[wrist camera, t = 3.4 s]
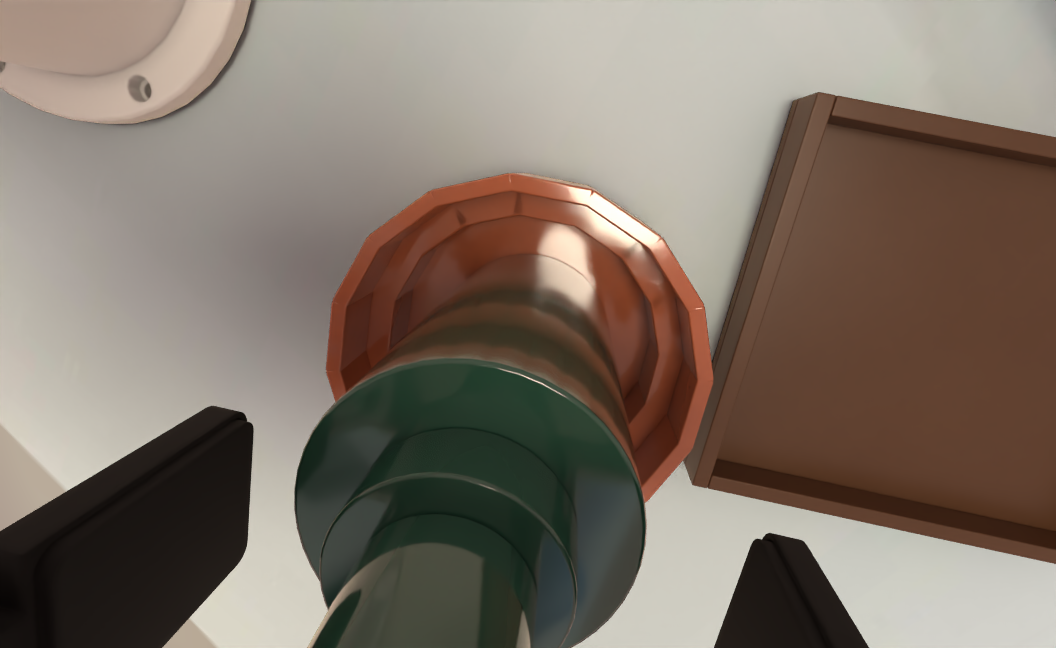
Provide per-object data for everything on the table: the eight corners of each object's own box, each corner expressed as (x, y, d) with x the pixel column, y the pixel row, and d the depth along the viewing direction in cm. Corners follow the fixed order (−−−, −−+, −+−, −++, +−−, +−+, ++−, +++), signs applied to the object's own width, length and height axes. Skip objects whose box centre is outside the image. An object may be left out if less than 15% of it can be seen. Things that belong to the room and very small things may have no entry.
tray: (682, 458, 22) (691, 485, 21) (792, 99, 18) (818, 91, 17) (1073, 543, 22) (1120, 578, 20) (1275, 192, 18) (1359, 194, 16)
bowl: (367, 431, 23) (313, 497, 19) (400, 147, 20) (345, 139, 15) (638, 490, 23) (654, 573, 18) (718, 211, 20) (763, 223, 15)
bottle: (436, 391, 22) (36, 1006, 6) (459, 238, 20) (-24, 504, 4) (588, 424, 22) (620, 1158, 6) (626, 272, 20) (835, 699, 4)
